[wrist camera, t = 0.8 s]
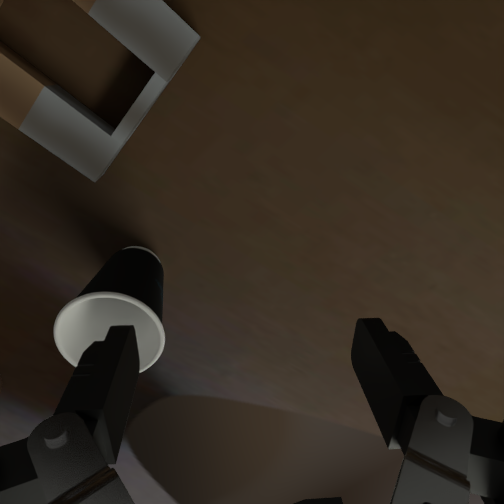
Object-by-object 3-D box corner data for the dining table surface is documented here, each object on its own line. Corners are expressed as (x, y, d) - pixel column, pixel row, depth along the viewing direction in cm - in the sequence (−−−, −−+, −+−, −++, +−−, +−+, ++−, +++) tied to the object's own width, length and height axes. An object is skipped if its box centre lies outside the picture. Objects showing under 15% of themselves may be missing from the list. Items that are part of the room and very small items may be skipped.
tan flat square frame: (41, -114, 24) (24, -132, 22) (200, 38, 29) (199, 35, 27) (-50, 66, 28) (-72, 66, 26) (103, 174, 33) (94, 182, 31)
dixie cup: (78, 254, 36) (28, 324, 26) (148, 216, 35) (122, 275, 25) (127, 312, 39) (99, 393, 30) (192, 279, 38) (184, 352, 29)
